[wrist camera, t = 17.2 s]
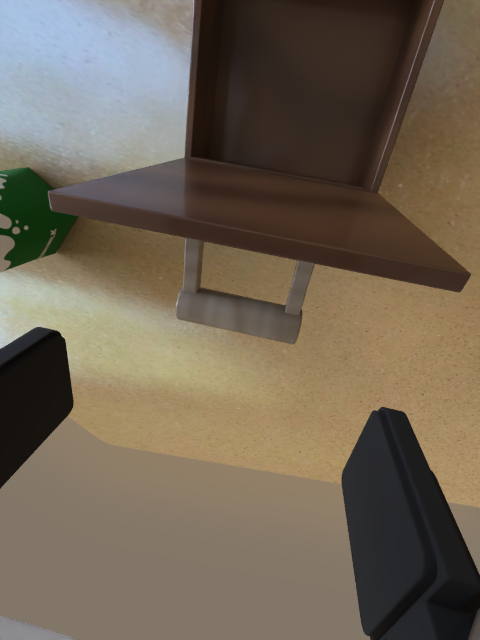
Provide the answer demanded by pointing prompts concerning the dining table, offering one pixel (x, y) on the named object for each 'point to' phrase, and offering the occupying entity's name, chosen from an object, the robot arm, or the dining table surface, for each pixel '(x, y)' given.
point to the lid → (262, 234)
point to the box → (304, 85)
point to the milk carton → (28, 219)
